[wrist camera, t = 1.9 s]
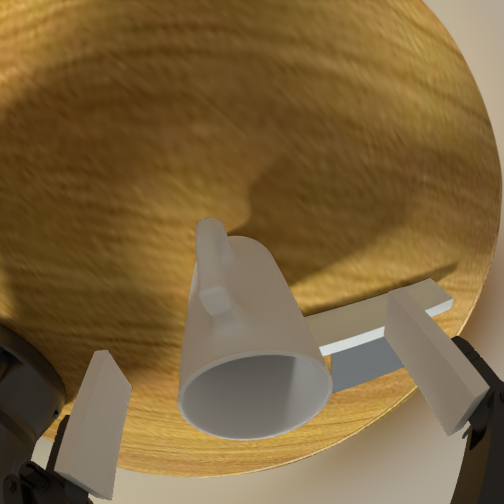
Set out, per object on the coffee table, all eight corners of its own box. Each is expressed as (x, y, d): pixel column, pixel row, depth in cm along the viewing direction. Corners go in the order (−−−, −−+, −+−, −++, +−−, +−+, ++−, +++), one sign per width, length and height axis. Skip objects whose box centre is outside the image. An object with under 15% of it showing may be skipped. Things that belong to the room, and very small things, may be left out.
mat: (330, 391, 30) (331, 393, 29) (330, 323, 25) (332, 326, 25) (409, 361, 30) (410, 363, 30) (424, 292, 26) (427, 294, 25)
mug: (286, 295, 23) (336, 417, 12) (208, 318, 23) (212, 449, 12) (254, 175, 19) (312, 243, 8) (161, 205, 19) (101, 306, 8)
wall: (217, 347, 25) (219, 380, 21) (213, 337, 24) (215, 370, 20) (428, 287, 25) (451, 308, 22) (430, 277, 25) (453, 298, 21)
